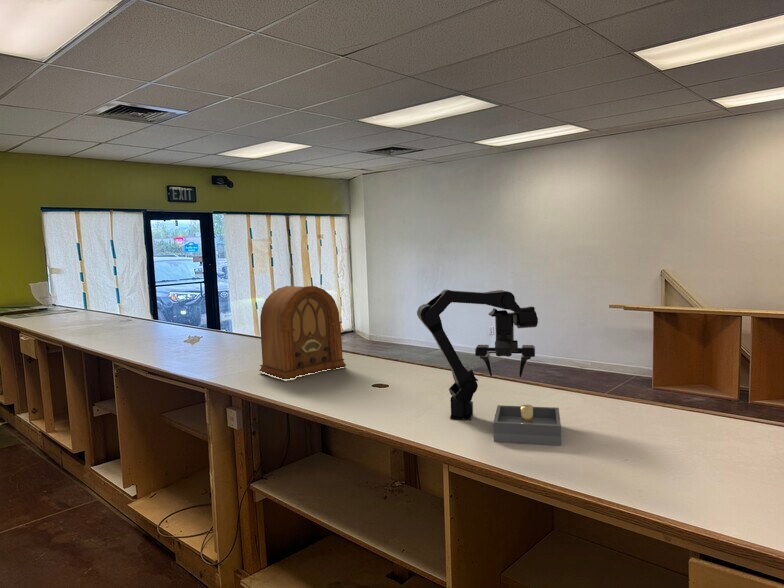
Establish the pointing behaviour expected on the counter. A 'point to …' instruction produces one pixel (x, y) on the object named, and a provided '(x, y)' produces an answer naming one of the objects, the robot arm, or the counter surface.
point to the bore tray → (527, 426)
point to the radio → (300, 332)
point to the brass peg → (526, 414)
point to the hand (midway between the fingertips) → (505, 376)
